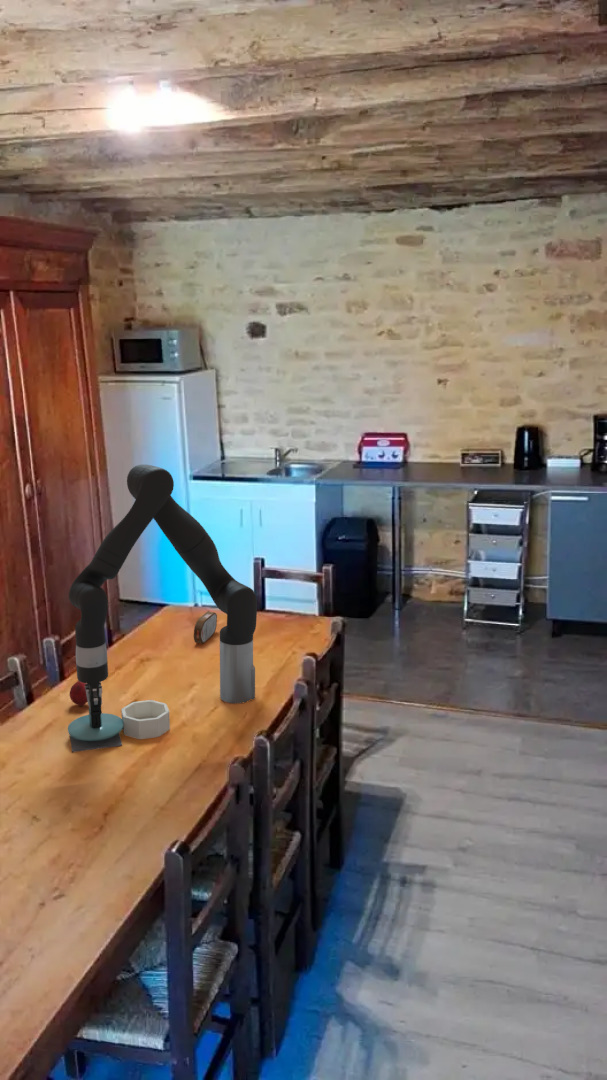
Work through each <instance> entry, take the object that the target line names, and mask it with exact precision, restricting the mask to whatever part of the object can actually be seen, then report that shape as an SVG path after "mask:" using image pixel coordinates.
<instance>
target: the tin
mask: <svg viewBox="0 0 607 1080" xmlns="http://www.w3.org/2000/svg"><path fill="white" fill-rule="evenodd" d="M217 626H218V614H217V613H216V612H214V611H210V610H208V611H206V612H204V613H203V614H202V615H201V616H200V617H199V618H198V619H197V621H196V622H195V624H194V629H193V641H194V643H197V644H205V643H206V642H207V641H208V640H210V639H211V638H212V636H214V634H215V632H216V630H217Z"/></svg>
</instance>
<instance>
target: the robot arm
mask: <svg viewBox="0 0 607 1080" xmlns="http://www.w3.org/2000/svg"><path fill="white" fill-rule="evenodd" d="M174 481H175V480H174V478H173V476H172V474H171V473H170V472H169V471H168V470H167V469H164V468H162V467H159V466H154V465H150V464H138V465H135V466H133V467H132V468H131V469H130V470H129V472H128V474H127V477H126V485H127V489H128V491H129V494H130V496H131V497H133V498H134V502H133V504H132V506H131V508H130V509H129V510H128V512H127V513H126V514H125V515H124V517H123V518H122V519H121V521H119V522H118V523H117V524H116V525H115V526H114V527H113V528H112V529H111V530H110V531H109V532H108V533H107V534H106V536H105V537H104V539H103V540H102V542H101V543H100V545H99V547H98V548H97V550H96V551H95V554H94V555H93V557H92V559H91V561H90V562H89V564H88V565H86V567H84V569H83V570H82V571H81V572H80V573H79V574H78V576H77V577H75V579H74V580H73V582H72V584H71V586H70V588H69V591H68V600H69V602H70V604H71V605H72V606H73V607H75V608H76V609H79V610H80V615H81V616H80V617H81V618H80V619H79V620H78V621H77V622H76V624H75V631H74V633H75V636H74V637H75V662H76V663H75V664H76V665H75V666H76V677H77V681H78V680H79V681H80V682H82V683H87V684H85V691H86V697H87V700H88V702H87V706H88V708H90V714H91V723H92V728H100V727H101V719H100V715H101V713H103V711H102V704H103V699H102V698H103V697H102V695H103V686H102V682H104V681H105V680H107V679H108V677H109V666H108V650H107V645H106V630H105V625H106V621H107V616H108V608H109V600H108V595H107V593H106V591H105V589H104V588H103V587H102V586H103V585H104V584H105V582H106V581H107V580H113V579H115V578H116V577H117V575H118V574H119V572H120V570H121V568H122V567H123V565H124V564H125V562H126V560H127V558H128V557H129V554H130V552H131V551H132V550H133V547H134V546H135V544H136V543H137V542H138V540H139V538H140V537H141V535H143V533H144V531H145V530H146V528H147V527H148V526H149V524H150V523H151V522H152V521H153V520H154V521H155V523H156V524H157V526H158V527H159V529H160V530H161V531H162V532H163V534H164V536H165V537H166V538H167V540H168V541H169V542H170V544H171V546H172V547H173V548H174V550H175V551H176V552H177V553H178V555H179V557H180V558H181V559H182V560H183V561H184V563H186V565H187V566H188V567H189V569H190V570H191V571H192V572H193V573H194V574H195V576H196V577H197V578H198V579H199V580H200V582H201V583H202V584H203V585H204V588H205V589H206V591H207V592H208V594H209V596H210V598H211V600H213V603H214V604H215V606H216V607H217V608H218V609H219V610H220V611H221V612H223V613H224V614H226V615H227V616H226V626H223V627H222V628H221V629H220V630H219V696H220V697H219V698H220V699H221V701H223V702H225V703H228V704H243V702H244V703H247V701H248V702H250V701H251V700H250V699H252V700H255V699H256V667H255V665H254V634H255V632H256V627H257V617H258V616H257V614H258V600H257V596H256V595H257V594H256V593H255V591H254V589H252V588H251V587H249V586H248V585H245V584H244V583H241V582H239V581H238V580H236V579H235V578H234V577H233V576H232V575H231V574H230V573H229V571H228V570H227V569H226V568H225V566H223V564H222V561H221V560H220V556H219V552H218V549H217V546H216V544H215V542H214V540H213V539H212V538H211V536H210V535H209V533H208V532H207V531H206V529H205V528H204V527H203V526H202V524H201V523H200V522H199V521H198V520H197V519H196V518H195V517H194V516H192V515H191V514H190V513H189V512H188V511H187V510H185V508H183V507H182V506H181V505H180V504H178V502H176V500H175V499H174V498H173V497H172V493H173V490H174V487H175V482H174ZM254 698H255V699H254ZM249 700H250V701H249ZM96 709H97V710H96Z"/></svg>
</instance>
